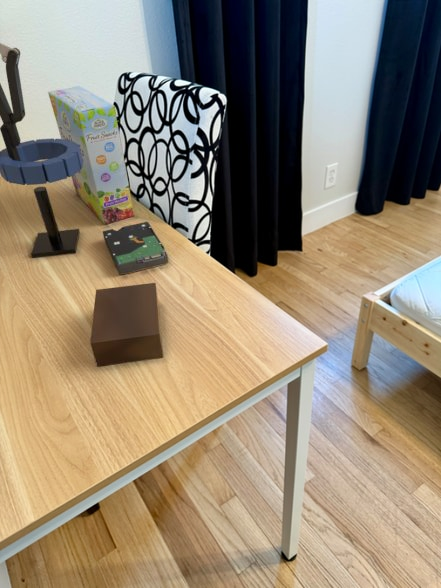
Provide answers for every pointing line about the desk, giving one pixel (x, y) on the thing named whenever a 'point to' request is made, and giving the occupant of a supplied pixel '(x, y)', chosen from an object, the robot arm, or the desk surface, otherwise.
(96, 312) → the stand
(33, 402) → the desk surface
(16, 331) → the desk surface
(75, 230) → the post
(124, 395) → the desk surface
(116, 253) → the disk drive
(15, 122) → the robot arm
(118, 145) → the snack box
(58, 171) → the ring
